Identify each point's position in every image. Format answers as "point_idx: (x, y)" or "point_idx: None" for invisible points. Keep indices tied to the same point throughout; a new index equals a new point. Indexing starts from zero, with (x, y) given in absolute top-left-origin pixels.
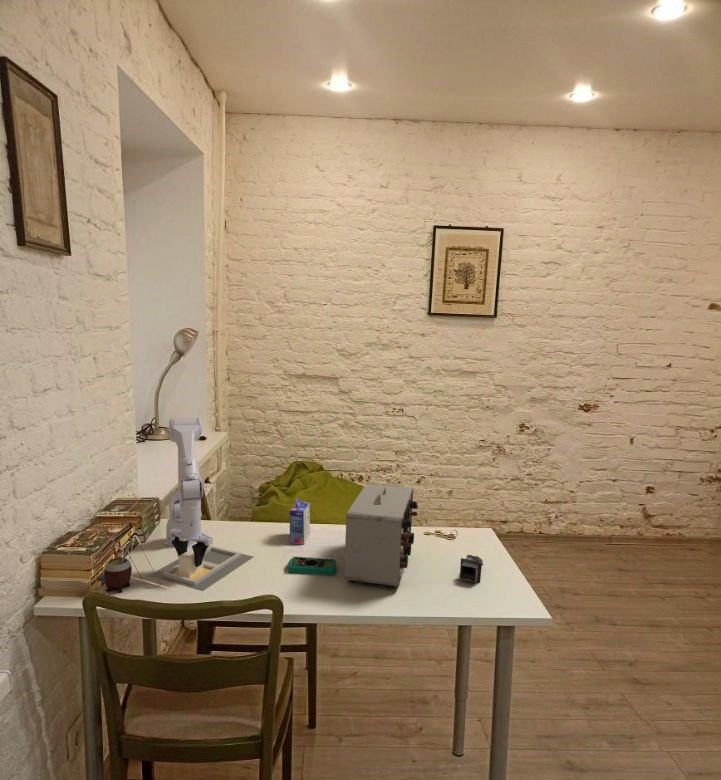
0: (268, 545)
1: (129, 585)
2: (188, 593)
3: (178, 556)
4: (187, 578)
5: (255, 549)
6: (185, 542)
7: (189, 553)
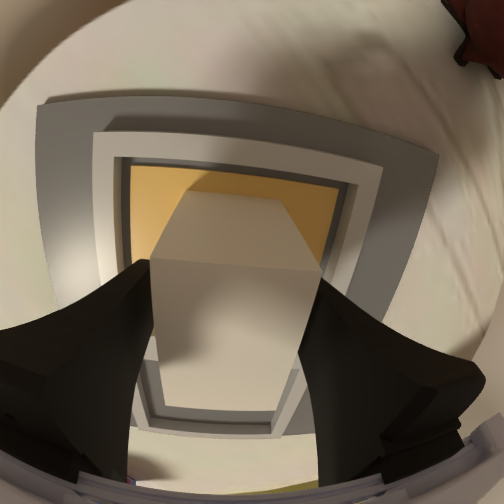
0: (137, 457)
1: (456, 55)
2: (103, 56)
3: (344, 296)
4: (171, 152)
5: (147, 445)
6: (333, 440)
7: (243, 350)
